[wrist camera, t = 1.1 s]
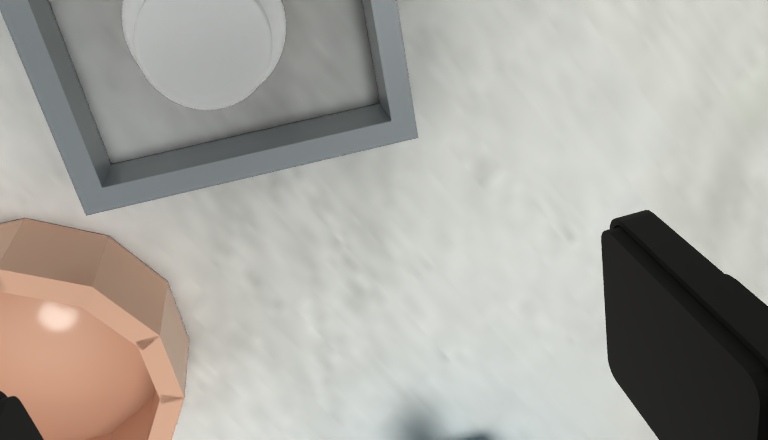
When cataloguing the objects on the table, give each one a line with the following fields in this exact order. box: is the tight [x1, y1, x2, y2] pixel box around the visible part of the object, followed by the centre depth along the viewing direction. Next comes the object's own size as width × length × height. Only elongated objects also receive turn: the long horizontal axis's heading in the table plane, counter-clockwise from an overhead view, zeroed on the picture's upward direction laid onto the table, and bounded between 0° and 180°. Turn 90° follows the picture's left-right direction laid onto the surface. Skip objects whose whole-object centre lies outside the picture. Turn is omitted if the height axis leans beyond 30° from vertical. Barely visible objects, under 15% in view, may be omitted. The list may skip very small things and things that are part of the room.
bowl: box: [0, 218, 189, 440], centre depth 32 cm, size 13×13×4 cm
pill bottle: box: [122, 0, 286, 110], centre depth 25 cm, size 5×5×9 cm
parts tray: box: [0, 0, 418, 215], centre depth 27 cm, size 14×14×2 cm
